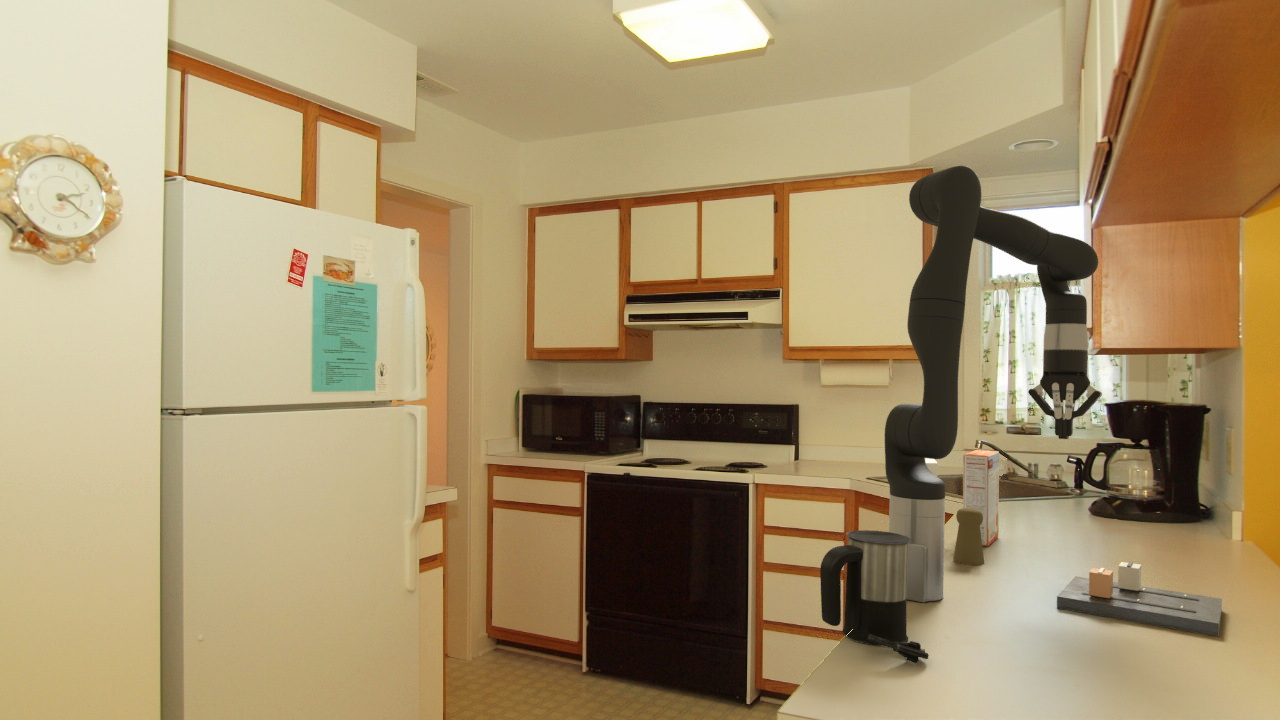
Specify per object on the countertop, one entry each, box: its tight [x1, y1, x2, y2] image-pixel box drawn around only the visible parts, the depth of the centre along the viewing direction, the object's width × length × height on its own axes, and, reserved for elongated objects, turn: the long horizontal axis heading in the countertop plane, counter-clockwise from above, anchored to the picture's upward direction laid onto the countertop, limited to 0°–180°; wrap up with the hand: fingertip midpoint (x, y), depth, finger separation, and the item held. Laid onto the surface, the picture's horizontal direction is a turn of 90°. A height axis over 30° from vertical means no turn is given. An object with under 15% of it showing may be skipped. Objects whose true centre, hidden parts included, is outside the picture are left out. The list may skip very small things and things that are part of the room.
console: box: [1056, 575, 1223, 638], centre depth 136 cm, size 18×22×2 cm
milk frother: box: [819, 529, 930, 664], centre depth 114 cm, size 14×16×15 cm
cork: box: [953, 507, 985, 566], centre depth 169 cm, size 6×6×11 cm
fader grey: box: [1117, 561, 1142, 591], centre depth 141 cm, size 4×3×4 cm
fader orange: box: [1088, 567, 1114, 598], centre depth 136 cm, size 4×3×4 cm
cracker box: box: [962, 449, 1000, 547], centre depth 191 cm, size 14×6×21 cm, turn 147°
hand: (1063, 438), depth 155 cm, fingers closed
